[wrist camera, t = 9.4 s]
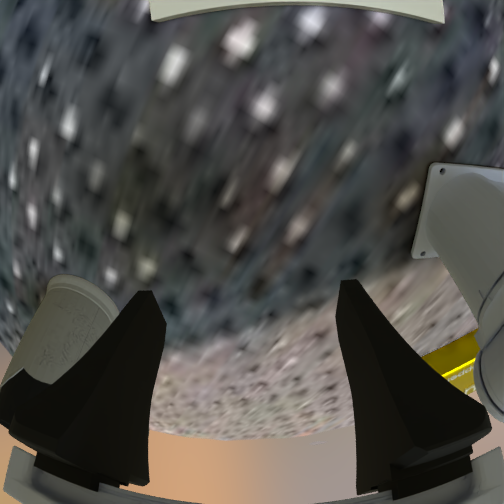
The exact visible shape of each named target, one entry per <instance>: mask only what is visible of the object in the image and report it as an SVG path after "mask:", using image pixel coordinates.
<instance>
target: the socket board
mask: <svg viewBox="0 0 504 504" xmlns="http://www.w3.org/2000/svg"><path fill="white" fill-rule="evenodd" d="M149 3H150V11H151V19H152V21H155V22H163V21H167V20H171V19H175V18H180V17H185V16H190V15H195V14H201V13H207V12H213V11H220V10H227V9H236V8H246V7H259V6H280V5H311V6H332V7H345V8H355V9H363V10H371V11H377V12H383V13H389V14H395V15H400V16H405V17H409V18H414V19H418V20H422V21H426V22H430V23H434V24H442V23H445V22H444V10H443V0H149Z"/></svg>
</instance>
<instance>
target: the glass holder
mask: <svg viewBox="0 0 504 504" xmlns="http://www.w3.org/2000/svg"><path fill="white" fill-rule="evenodd" d="M119 314H120V313H119V310H118V308H117V306H116V305H115V303H114V302H113V301H112V299H111V298H110V297H109V296H108V295H107V294H106V293H105V292H104V291H102V290H101V289H100V288H98V287H97V286H96V285H94V284H92V283H91V282H89V281H87V280H85V279H83V278H80V277H77V276H74V275H68V274H61V275H56V276H54V277H53V278H52V279H50V281H49V283H48V285H47V293H46V296H45V297H44V299H43V301H42V303H41V304H40V306H39V308H38V309H37V311H36V313H35V315H34V317H33V318H32V320H31V322H30V324H29V326H28V328H27V330H26V332H25V333H24V335H23V337H22V339H21V341H20V343H19V345H18V347H17V349H16V351H15V354H14V356H13V358H12V360H11V362H10V364H9V367H8V369H7V371H6V373H5V376H4V378H3V380H2V383H1V385H0V424H1V425H3V426H4V427H6V428H7V429H10V425H11V422H12V419H13V416H14V413H15V410H16V408H17V407H18V406H20V405H22V404H23V403H25V402H27V401H28V400H30V399H31V398H33V397H35V396H36V395H38V394H39V393H40V392H42V391H43V390H45V389H46V388H47V387H49V386H50V385H51V384H53V383H54V382H55V381H56V380H57V379H59V378H60V377H61V376H62V375H63V374H64V373H66V372H67V371H68V370H69V369H70V368H71V367H72V366H73V365H74V364H75V363H77V362H78V361H79V360H80V359H81V358H82V357H83V356H84V354H85V353H86V352H87V351H88V350H89V349H90V348H91V347H92V346H93V345H94V343H95V342H96V341H97V340H98V339H99V338H100V337H101V335H102V334H103V333H104V332H105V331H106V330H107V328H108V327H109V326H110V325H111V323H112V322H113V321H114V320H115V319H116V317H117V316H118V315H119ZM148 436H149V433H148Z"/></svg>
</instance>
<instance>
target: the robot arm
mask: <svg viewBox="0 0 504 504" xmlns="http://www.w3.org/2000/svg"><path fill="white" fill-rule="evenodd" d="M442 168H443V170H442V172H440V170H441V169H442ZM421 252H422V253H421ZM411 255H412V257H413V258H414V259H420V258H431V257H440V259H441V260H442V262H443V263H444V265H445V267H446V268H447V270H448V271H449V273H450V275H451V276H452V278H453V280H454V281H455V283H456V285H457V286H458V288H459V290H460V292H461V293H462V295H463V297H464V299H465V300H466V302H467V304H468V306H469V308H470V309H471V311H472V313H473V315H474V317H475V319H476V321H477V323H478V325H479V328H478V330H477V332H476V334H475V335H474V337H475V339H476V341H477V343H478V346H479V348H480V350H479V352H478V353H477V356H476V358H475V361H474V366H473V377H474V384H475V388H476V391H477V394H478V396H479V398H480V401H481V402H482V404H483V405H482V404H481V403H479V402H477V401H476V400H474V399H473V398H471V397H469V396H468V395H466V394H465V393H463V392H462V391H460V390H459V389H458V388H456V387H455V386H454V385H452V384H451V383H450V382H449V381H447V380H446V379H445V378H444V377H443V376H441V375H440V374H439V373H438V372H437V371H435V370H434V369H433V368H432V367H431V366H430V365H429V364H428V363H427V362H425V361H424V360H423V359H422V358H421V357H420V356H419V355H418V354H417V353H416V352H415V351H414V350H413V349H412V348H411V347H410V345H409V344H408V343H407V342H406V341H405V340H404V339H403V338H402V337H401V335H400V334H399V333H398V332H397V331H396V330H395V328H394V327H393V326H392V325H391V324H390V322H389V321H388V320H387V319H386V317H385V316H384V315H383V314H382V312H381V311H380V310H379V308H378V307H377V306H376V304H375V303H374V302H373V300H372V299H371V298H370V296H369V295H368V294H367V292H366V291H365V289H364V288H363V287H362V285H361V284H360V282H359V281H358V280H357V279H354V280H341V284H340V290H339V297H338V303H337V310H336V316H335V317H336V325H337V332H338V339H339V343H340V347H341V351H342V356H343V360H344V364H345V368H346V372H347V376H348V380H349V384H350V389H351V394H352V400H353V410H354V420H355V434H356V456H357V457H356V458H357V471H356V472H357V474H356V477H357V478H356V489H357V495H361V494H366V493H371V492H376V491H378V493H376V494H371V495H367V496H362V497H357V498H351V499H345V500H339V501H332V502H325V503H317V504H504V460H503V456H502V451H501V448H500V447H497V448H495V449H494V450H491V451H489V452H487V453H486V454H483V455H481V456H479V457H477V458H475V459H473V460H470V454H472V453H473V449H472V444H474V443H475V442H477V441H478V440H480V439H481V438H483V437H484V436H486V435H487V434H488V433H489V432H491V430H492V427H491V423H490V419H489V415H488V413H487V411H488V412H489V413H490V414H491V415H492V416H493V417H494V418H495V419H497V420H499V421H500V422H503V423H504V169H499V168H491V167H483V166H473V165H462V164H450V163H436V162H435V163H432V164H431V165H430V167H429V171H428V177H427V182H426V188H425V193H424V198H423V203H422V208H421V213H420V217H419V222H418V226H417V230H416V234H415V238H414V242H413V246H412V250H411ZM166 325H167V323H166V321H165V319H164V317H163V315H162V313H161V310H160V308H159V306H158V304H157V301H156V299H155V297H154V295H153V292H152V290H151V291H138V292H137V293H136V294H135V295H134V296H133V297H132V299H131V300H130V301H129V302H128V304H127V305H126V306H125V307H124V309H123V310H122V311H121V312H120V314H119V315H118V316H117V317H116V319H115V320H114V321H113V322H112V323H111V325H110V326H109V327H108V328H107V330H106V331H105V332H104V333H103V334H102V335H101V337H100V338H99V339H98V340H97V341H96V342H95V343H94V345H93V346H92V347H91V348H90V349H89V350H88V351H87V352H86V353H85V354H84V356H83V357H82V358H81V359H80V360H79V361H78V362H77V363H75V364H74V365H73V366H72V367H71V368H70V369H69V370H68V371H67V372H66V373H64V374H63V375H62V376H61V377H60V378H59V379H57V380H56V381H55V382H54V383H53V384H51V385H50V386H49V387H47V388H46V389H45V390H43V391H42V392H40V393H39V394H38V395H36V396H35V397H33V398H31V399H30V400H28V401H27V402H25V403H23V404H22V405H20V406H18V407H17V408H16V410H15V413H14V416H13V419H12V422H11V425H10V429H9V434H10V435H11V436H12V437H14V438H15V439H17V440H18V441H20V442H22V443H23V444H25V445H26V446H28V447H30V448H32V449H33V450H35V451H37V455H36V456H34V455H32V454H30V453H28V452H26V451H24V450H22V449H20V448H18V447H16V446H14V447H13V449H12V453H11V457H10V461H9V465H8V469H7V473H6V478H5V483H4V488H3V490H4V492H6V493H7V494H9V495H10V496H12V497H13V498H15V499H16V500H18V501H19V502H21V503H22V504H200V503H192V502H184V501H177V500H171V499H165V498H160V497H155V496H150V495H145V494H140V493H136V492H132V491H128V490H124V489H120V488H119V487H120V485H124V486H128V485H129V483H131V484H134V485H139V486H145V485H147V484H148V483H149V482H150V480H149V466H148V433H149V417H150V407H151V399H152V394H153V389H154V385H155V381H156V377H157V373H158V369H159V365H160V360H161V356H162V352H163V348H164V342H165V334H166Z"/></svg>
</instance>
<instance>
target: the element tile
mask: <svg viewBox="0 0 504 504" xmlns="http://www.w3.org/2000/svg"><path fill="white" fill-rule="evenodd" d="M477 330H478V328H477V329H476V330H474V331H472V332H470V333H469V334H467V335H465V336H463V337H461V338H459V339H457V340H455V341H454V342H452V343H450V344H448V345H446V346H444V347H442V348H440V349H438V350H436V351H434V352H431V353H429V354H427V355H425V356H423V357H421V358H422V359H423V360H424V361H425V362H427V363H428V364H429V365H430V366H431V367H432V368H433V369H434V370H435V371H437V372H438V373H439V374H440V375H441V376H443V377H444V378H445V379H446V380H447V381H449V382H450V383H451V384H452V385H454V386H455V387H456V388H458V389H459V390H460V391H462V392H463V393H465V394H466V395H468V394H470V393H472V392H473V391H475V390H476V388H475V384H474V377H473V366H474V361H475V358H476V356H477V353H478V352H479V350H480V348H479V346H478V343H477V341H476V339H475V337H474V335H475V334H476V332H477Z"/></svg>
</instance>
